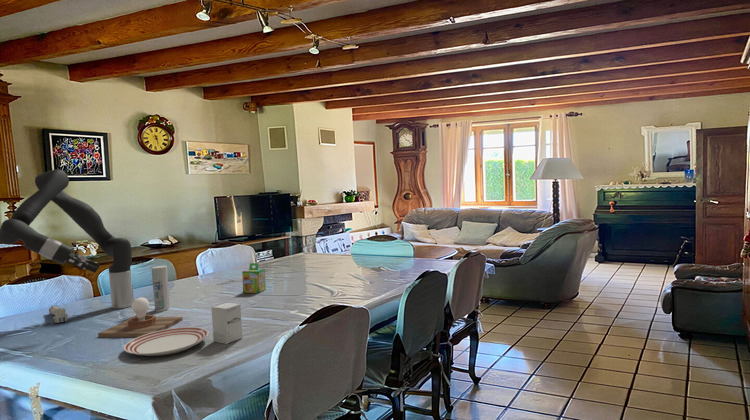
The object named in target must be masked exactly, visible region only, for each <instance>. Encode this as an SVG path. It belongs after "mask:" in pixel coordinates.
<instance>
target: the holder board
mask: <svg viewBox="0 0 750 420" xmlns="http://www.w3.org/2000/svg"><path fill="white" fill-rule="evenodd" d="M182 321H183V316H156V315H153V314H146V316H145V320H144V321H138V318H137V316H134V317H131V318H128V319H127V320H125V321H123V322H120V323H118V324H116V325H114V326H113V325H112V327H109V328H107V329H105V330H102V331H100V332H98V333H97V335H98V338H137V337H140V336H142V335H145V334H149V333H152V332H156V331H161V330H165V329H170V328H172V326H175V325H176V324H179V323H180V322H182Z"/></svg>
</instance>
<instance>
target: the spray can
mask: <svg viewBox="0 0 750 420" xmlns="http://www.w3.org/2000/svg"><path fill="white" fill-rule="evenodd" d="M168 274H169V273H168V266H167V265H157V266H152V267H151V276H152V277H151V278H152V288H153V291H152V292H153V301H154V303H153V304H154V311H155V312H164V311H165V310H166V311H168V309H169V308H171V307H170V296H169V295H170V293H169V292H170V291H169V279H168V278H169V276H168ZM169 310H170V309H169Z"/></svg>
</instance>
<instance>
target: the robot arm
mask: <svg viewBox="0 0 750 420" xmlns="http://www.w3.org/2000/svg"><path fill="white" fill-rule="evenodd" d="M69 183H70V179H69V176H68V174H67V173H66V172H65V171H64V170H62V169H52V170H49V171H45V172H43V173H39V174H38V175H37V176H35V178H34V184H35V186H36V188H37V191H36V192H34V193H33V194H32V195H30V196H28V198H26V199H25V200H23V201H22V203H21V204H19V206H18V207H17V208H16V209H15V210H14V212H13V213H12V215H11V218H8V219H5V220H4V221H3V222H2V223H1V226H0V242H1V244H5V245H14V244H16V243H18V242H19V241H22V242H23V245H24V248H26V249H27V250H29V251H32V252H34V253H35V254H39V255H40V256H42V257H44V258H47V259H48V260H50V261H53V262H56V263H58V264H60V265H64V264H65V263H67V264H70V265H72V266H73V267H77V268H79V269H80V270H88V271H90V272H92V273H96V272H97V271H98V269H99V268H100V266H101V265H100V264H99V263H98V262H95V261H92V259H90V258H89V257H87V256H84V255H81V254H80V253H77V252H75V253H73V251H74V247H73V246H71V245H69V244H67V243H64V242H62V241H60V240H57V239H54V238H51V237H49V236H46V235H45V234H42V233H39V232H38V231H36V230H35V229H34V228H33V227H32V226H30V225H31V223H33V222H34V221H35V219H36V218H37V217H38V215H40V213H41V212H42V211H43V209H45V208H46V206H47V205H49V203H50V202H53V203H54V204H55V205H57V207H59V208H60V209H61V210H62V211H63V212H64V213H65V214H66V215H67V216H68V217H70V219H72V221H74V222H75V224H77V225H78V226H79V227H80V228H81V229H82V230H83V231H84V232H85V233H86V234H87V235H89V237H90V238H91V239H93V241H95V243H96V244H97V245H98V246H99V247H100V249H101V250H102V252H104V254H105V255H106V256H108V257H111V258H113V259H112V264H111V265H109V266H108V277H109V279H108V280H109V290H110V291H109V292H110V301H111V303H110V305H111V309H113V310H114V309H125V308H130V307H132V303H133V301H134V300H135V299H134V298H135V297H134V287H133V284H132V274H131V273H132V272H131V266H132V263H133V260H132V258H133V257H132V255H133V254H132V245H131V242H130V241H129V240H128V239H126V238H123V237H122V238H121V237H120V238H119V237H115V236H113V234H111V232H109V231H108V230H107V228H105V225H104V222H103V220H102V218H101V216H100V214H99V213H98V212H97V211H96V210H95V209H94V208H93V207H92V206H91V205H89V204H88V203H86V202H84V201H83V200H79V199H77V198H75V197H73V196H71V195H69V194H67V192H65V191H64V190H65V189H66V188H67V187H68V185H69Z"/></svg>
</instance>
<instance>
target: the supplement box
mask: <svg viewBox="0 0 750 420" xmlns="http://www.w3.org/2000/svg"><path fill="white" fill-rule="evenodd" d="M241 310H242V308H241V304H240V303H235V302H233V303H232V302H225V303H221V304H218V305H215V306H212V307H211V317H212V318H211V321H212V341H213V342H215V343H219V344H224V345H228V344H230V343H232V342H235V341H238V340H240V339H242V338H243V326H242V311H241Z"/></svg>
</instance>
